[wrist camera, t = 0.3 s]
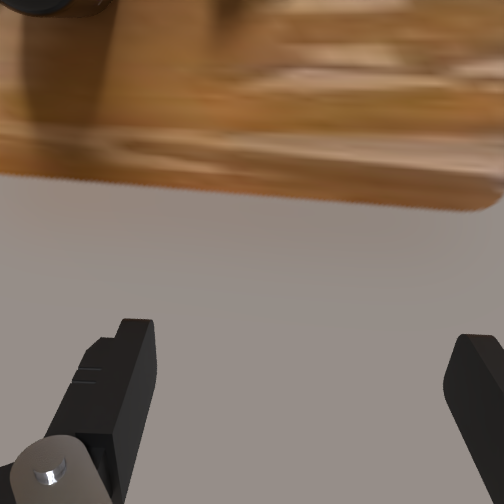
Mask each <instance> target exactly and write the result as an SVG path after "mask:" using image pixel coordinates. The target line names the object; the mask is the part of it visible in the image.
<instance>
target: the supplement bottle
mask: <svg viewBox="0 0 504 504" xmlns="http://www.w3.org/2000/svg"><path fill="white" fill-rule="evenodd" d="M112 1H113V0H0V3H1V4H2V5H4V6H5V7H7V8H8V9H10V10H12V11H15V12H17V13H20V14H23V15H27V16H32V17H56V18H79V17H88V16H92V15H95V14H97V13H99V12H101V11H103V10H104V9H105V8H106V7H107V6H108V5H109V4H110V3H111V2H112Z"/></svg>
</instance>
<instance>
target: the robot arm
mask: <svg viewBox="0 0 504 504" xmlns="http://www.w3.org/2000/svg"><path fill="white" fill-rule="evenodd" d="M156 375H157V359H156V346H155V332H154V323H153V320H149V319H123V320H122V321H121V324H120V326H119V329H118V331H117V333H116V335H115V338H104V337H103V338H102V337H101V338H100V339H99V340H97V341H96V342H95V343H94V344H93V345H92V346H91V347H90V348H89V349H88V350H86V352H85V354H84V356H83V358H82V360H81V362H80V365H79V367H78V370H77V371H76V373H75V375H74V377H73V379H72V383H70V385H69V387H68V389H67V391H66V393H65V395H64V398H63V400H62V402H61V404H60V406H59V408H58V410H57V412H56V414H55V416H54V418H53V420H52V422H51V424H50V426H49V428H48V430H47V433H46V434H45V436H44V438H43V439H40V440H38V441H37V442H35V443H33V444H31V445H30V446H28V447H27V448H26V449H25V450H24V451H23V452H22V453H21V454H20V455H19V456H18V457H17V459H16V460H15V462H13V463H10V464H8V465H5V466H2V467H0V504H124V502H125V498H126V494H127V491H128V487H129V483H130V479H131V475H132V471H133V468H134V464H135V460H136V456H137V452H138V449H139V445H140V441H141V437H142V433H143V430H144V426H145V422H146V418H147V414H148V411H149V407H150V403H151V399H152V396H153V392H154V388H155V383H156ZM443 390H444V396H445V400H446V402H447V404H448V406H449V409H450V411H451V413H452V415H453V417H454V419H455V422H456V424H457V426H458V428H459V430H460V432H461V434H462V437H463V439H464V441H465V443H466V445H467V447H468V450H469V452H470V454H471V456H472V458H473V460H474V463H475V465H476V467H477V469H478V471H479V473H480V475H481V478H482V479H483V482H484V484H485V486H486V488H487V490H488V492H489V495H490V497H491V499H492V501H493V503H494V504H504V349H503V348H502V347H501V345H500V344H499V342H498V341H497V339H496V338H495V337H494V336H492V335H475V334H461V335H460V336H459V337H458V338H457V341H456V343H455V347H454V349H453V352H452V355H451V358H450V361H449V364H448V367H447V370H446V373H445V376H444V381H443Z"/></svg>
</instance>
